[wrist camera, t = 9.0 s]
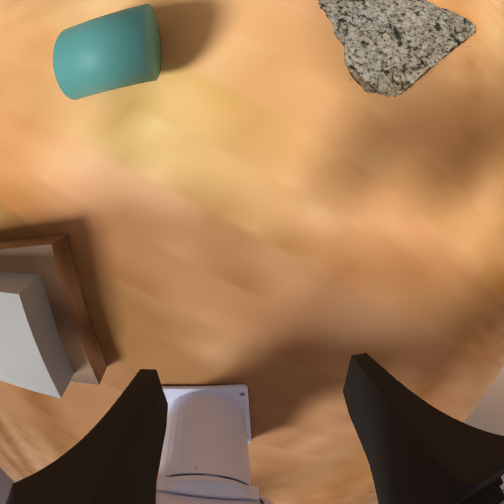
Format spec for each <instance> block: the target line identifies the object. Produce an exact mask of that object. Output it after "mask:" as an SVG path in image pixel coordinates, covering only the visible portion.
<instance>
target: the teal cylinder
mask: <svg viewBox="0 0 504 504" xmlns="http://www.w3.org/2000/svg"><path fill="white" fill-rule="evenodd" d="M53 66H54V72H55V76H56V79H57V82H58V84H59V87H60V88H61V90H62V91H63V93H64V94H65V95H66V96H67V97H69V98H70V99H74V100H77V99H80V98H83V97H87V96H90V95H94V94H97V93H101V92H105V91H108V90H112V89H117V88H121V87H125V86H130V85H134V84H139V83H144V82H149V81H154V80H157V79H158V77H159V74H160V68H161V42H160V33H159V27H158V22H157V18H156V15H155V12H154V10H153V8H152V7H151V5H149V4H146V5H142V6H137V7H133V8H129V9H125V10H122V11H118V12H115V13H111V14H108V15H105V16H101V17H98V18H95V19H92V20H89V21H86V22H84V23H81V24H78V25H76V26H73V27H70V28H68V29H65V30H64V31H62V32H61V33H60V35H59V36H58V38H57V40H56V43H55V46H54V52H53Z"/></svg>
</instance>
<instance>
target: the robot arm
mask: <svg viewBox="0 0 504 504" xmlns="http://www.w3.org/2000/svg"><path fill="white" fill-rule="evenodd" d="M343 393H344V397H345V401H346V405H347V408H348V412H349V415H350V417H351V420H352V422H353V424H354V427H355V429H356V432H357V434H358V436H359V439H360V441H361V444H362V446H363V449H364V451H365V453H366V456H367V459H368V462H369V464H370V468H371V472H372V476H373V480H374V484H375V488H376V493H377V498H378V503H379V504H504V489H503V490H501V488H500V485H502V483H503V481H502V479H501V476H502V475H503V474H504V436H501V435H497V434H493V433H489V432H486V431H483V430H480V429H477V428H474V427H472V426H469V425H467V424H465V423H463V422H460V421H458V420H456V419H454V418H452V417H450V416H448V415H446V414H444V413H443V412H441V411H439V410H438V409H436V408H434V407H433V406H431V405H430V404H428V403H426V402H425V401H424V400H422V399H421V398H419V397H418V396H417V395H415V394H414V393H413V392H411V391H410V390H409V389H407V388H406V387H405V386H404V385H402V384H401V383H400V382H399V381H397V380H396V379H395V378H394V377H393V376H392V375H390V374H389V373H388V372H387V371H386V370H385V369H384V368H382V367H381V366H380V365H379V364H378V363H377V362H376V361H375V360H373V359H372V358H371V357H370V356H369V355H368V354H367V353H364V354H358V355H352V356H351V360H350V364H349V369H348V373H347V377H346V381H345V385H344V389H343ZM251 441H252V440H251V426H250V413H249V399H248V387H247V386H246V385H244V384H237V385H215V386H161V383H160V380H159V377H158V374H157V371H156V370H150V369H141V370H140V371H139V372H138V373H137V374H136V376H135V377H134V379H133V380H132V381H131V383H130V384H129V385H128V387H127V388H126V389H125V391H124V392H123V393H122V395H121V396H120V397H119V398H118V400H117V401H116V402H115V403H114V405H113V406H112V407H111V408H110V410H109V411H108V412H107V413H106V414H105V416H104V417H103V418H102V419H101V420H100V421H99V422H98V423H97V425H96V426H95V427H94V428H93V429H92V430H91V431H90V432H89V433H88V434H87V435H86V436H85V437H84V438H83V439H82V440H81V441H80V442H78V443H77V444H76V445H75V446H74V447H73V448H71V449H70V450H69V451H68V452H66V453H65V454H64V455H63V456H61V457H60V458H59V459H57V460H56V461H54V462H53V463H51V464H50V465H48V466H47V467H45V468H43V469H42V470H40V471H38V472H36V473H35V474H33V475H31V476H29V477H26V478H24V479H22V480H20V481H18V482H15V483H13V485H12V487H11V490H10V493H9V496H8V499H7V502H6V504H273V503H272V502H271V501H270V500H269V499H268V498H266V497H260V495H259V487H258V486H251V475H250V464H249V453H248V443H250V442H251ZM162 448H163V449H162ZM161 454H162V456H161ZM160 459H161V463H160ZM159 464H160V470H159ZM158 470H159V476H158Z"/></svg>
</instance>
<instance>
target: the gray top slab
mask: <svg viewBox="0 0 504 504" xmlns="http://www.w3.org/2000/svg"><path fill="white" fill-rule="evenodd" d="M73 375H74V372H73V370H72V368H71V365H70V363H69V360H68V357H67V355H66V352H65V350H64V347H63V344H62V341H61V338H60V336H59V333H58V330H57V327H56V323H55V320H54V317H53V314H52V311H51V307H50V304H49V300H48V296H47V293H46V289H45V285H44V281H43V277H42V274H31V273H13V272H0V380H1V381H4V382H6V383H9V384H12V385H15V386H19V387H22V388H25V389H28V390H32V391H35V392H39V393H42V394H46V395H50V396H54V397H58V398H61V397H62V395H63V394H64V392H65V390H66V388H67V386H68V384H69V382H70V380H71V378H72V376H73Z"/></svg>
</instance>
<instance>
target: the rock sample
mask: <svg viewBox="0 0 504 504" xmlns="http://www.w3.org/2000/svg"><path fill="white" fill-rule="evenodd" d="M318 4H319V5H320V8H321V9H323V10H324V11H325V12H326V14H327V17H328V18H329V19H330V20H331V22H332V24H333V26H334V34H335V36H336V37H337V38H338V40H339V41H340V42H341V43H342V44H343V45H344V49H345V53H344V56H345V64H346V66H347V68H348V70H349V73H350V74H351V76H352V77H353V79H354V80H355V81H356V82H357V83H358V84H359V85H360V86H362V87H363V90H364V91H366V92H368V93H378V94H382V95H384V96H394V97H395V96H396V95H400V94H402V93H403V92H404V91H406V90H407V89H408V88H409V87H412V86H413V84H414V83H415V82H416V81H417V80H419V79H420V78H421V77H422V76H423V75H425V74H426V73H427V72H428V71H429V70H430V69H431V68H432V67H433V66H435V65H436V64H437V63H438V62H439V61H440V60H442V59H443V58H444V57H445V56H447V55H448V54H449V53H450V52H452V51H453V50H454V49H455V48H456V47H458V46H459V45H461V44H462V43H463V42H465V41H466V40H467V39H468V38H469V37H470V36H472V35H473V34H474V33H475V32H476V26H475V25H474V24H473V23H472V22H471V21H470V20H468V19H466V18H463V17H461V16H459V15H458V14H456V13H454V12H451V11H449V10H447V9H443V8H439V7H437V6H435V5H433V4H431V3H430V2H428V1H426V0H319V3H318ZM468 47H469V46H468ZM350 81H351V79H350Z"/></svg>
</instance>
